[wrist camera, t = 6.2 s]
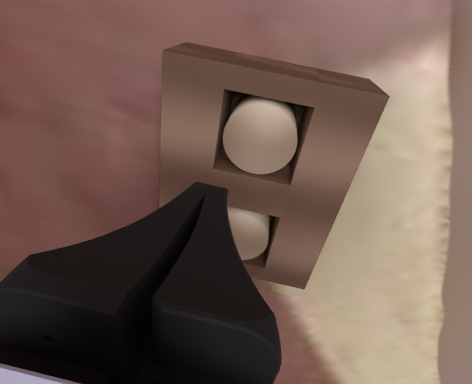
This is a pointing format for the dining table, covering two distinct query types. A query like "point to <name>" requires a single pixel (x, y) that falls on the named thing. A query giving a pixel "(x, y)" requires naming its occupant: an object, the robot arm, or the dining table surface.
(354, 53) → the dining table surface
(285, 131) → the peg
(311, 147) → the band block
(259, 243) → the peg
